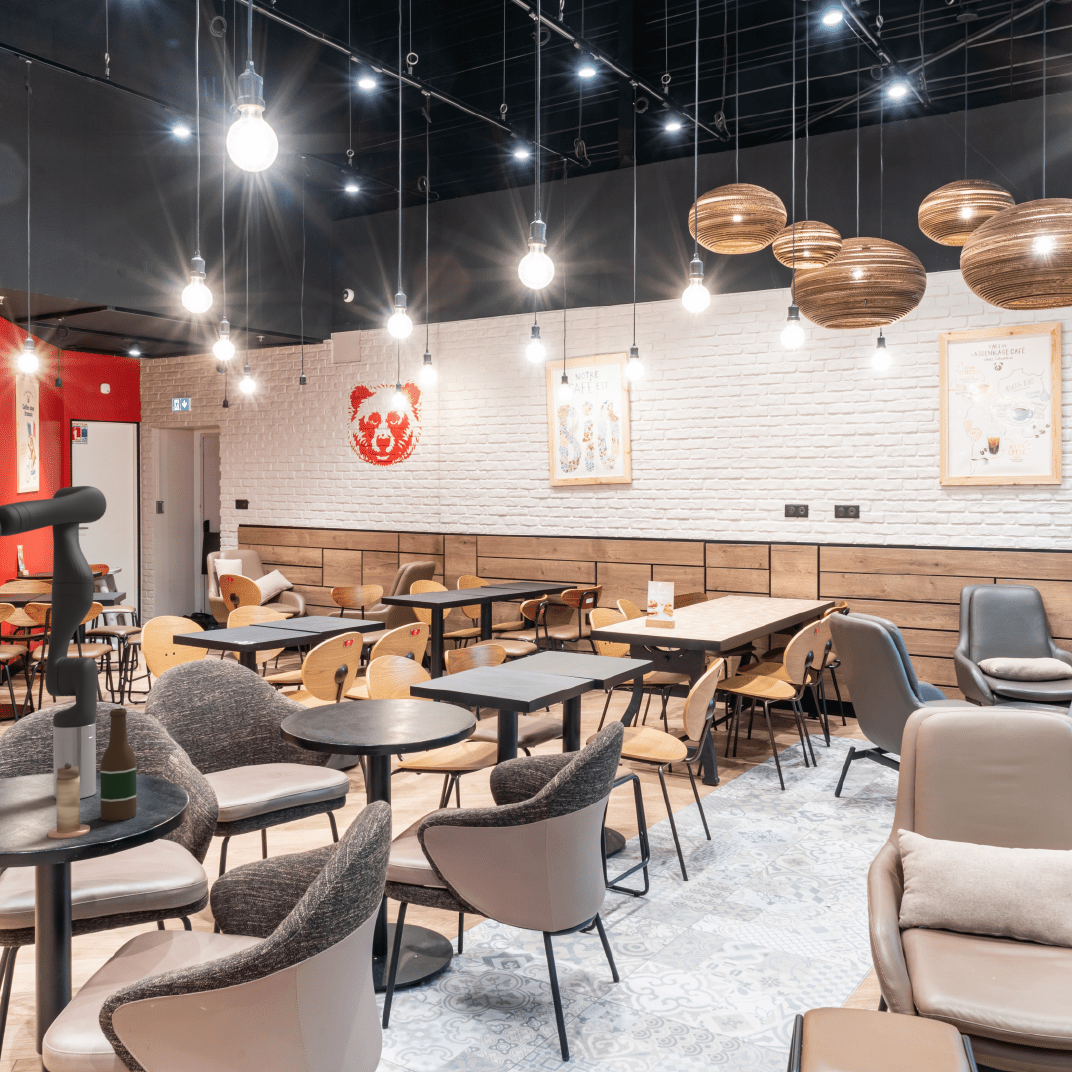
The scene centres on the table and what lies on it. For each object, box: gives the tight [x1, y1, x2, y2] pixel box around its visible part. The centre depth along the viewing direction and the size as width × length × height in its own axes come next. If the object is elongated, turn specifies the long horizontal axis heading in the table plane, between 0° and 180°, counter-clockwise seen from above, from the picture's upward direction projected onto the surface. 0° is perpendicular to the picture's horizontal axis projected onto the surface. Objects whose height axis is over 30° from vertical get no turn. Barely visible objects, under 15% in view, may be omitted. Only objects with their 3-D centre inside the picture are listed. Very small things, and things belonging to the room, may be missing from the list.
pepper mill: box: [56, 762, 81, 833], centre depth 200 cm, size 4×4×14 cm
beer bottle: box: [100, 707, 138, 822], centre depth 211 cm, size 8×8×24 cm
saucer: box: [47, 823, 91, 840], centre depth 200 cm, size 8×8×1 cm
